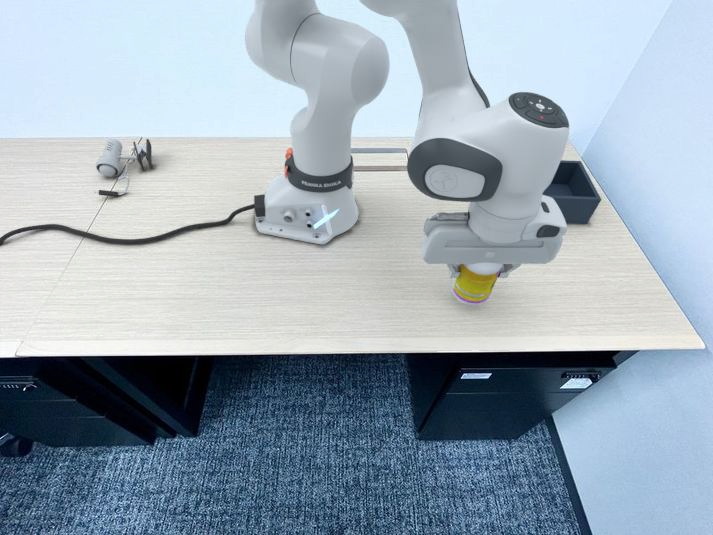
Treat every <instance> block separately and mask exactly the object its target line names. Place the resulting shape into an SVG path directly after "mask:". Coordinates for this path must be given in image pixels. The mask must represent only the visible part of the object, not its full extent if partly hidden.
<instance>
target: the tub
mask: <svg viewBox="0 0 713 535" xmlns="http://www.w3.org/2000/svg"><path fill="white" fill-rule="evenodd" d="M542 195H545V196H549V197H551V198H553V199H554V200H555V202H556V203H557V205H558V207H559V208H560V210H561V212H562V214H563V216H564V219H565V221H566V224H575V225H577V224H578V225H579V224H581V225H587V224H588V223H589V221H591V218H592V216H593V215H594V213H595V212H596V210H597V208H598V207H599V205H600V203H601V201H602V197H601V196H600V194H599V192H598V190H597V189H596V186H595V184H594V183H593V181H592V179H591V177H590V175H589V173H588V172H587V169H586V168H585V166H584V165H583V162H582V161H581V160H566V159H565V160H562V159H561V161H560V164H559V166H558V169H557V171H556V173H555V176H554V178H553V180H552V182H551V184H550V185H549V186H548V187H547V188H546V189H545V190H544V192H543V194H542Z"/></svg>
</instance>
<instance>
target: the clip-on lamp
mask: <svg viewBox="0 0 713 535" xmlns="http://www.w3.org/2000/svg"><path fill="white" fill-rule="evenodd" d="M145 140H146V141H145V143H144V144H143V145H140V144H138V143H137V142H136V141H132V143H133V148H131V151H132V152H133V154H132V155H129V154H128V155H127V154H125V155H124V154H122V151H123V144H122V142H121V141H120V140H118V139H115V138H109V139H108V140H106V142H105V143H104V144H105V145H104V148H103V151H102V154H101V156H99V157H98V158H97V159H96V161H95V169H96V171H97V172H98V173H99V174H101V175H102V176H104V177H106V178H107V177H108V178H110V177H116V176H118V175H119V174H120V173H121V170H122V166H121V163H120V160H131V161H128V162H126V163H125V171H124V172H123V173H122V174H121V175H120V176H118V178H117V181H120V180H122V179H125V178H127V184H126V188H125V190H124V191H123V192H121V193H119V192H118V191H113V190H105V189H99V190H98V191H96V190H95V191H94V194H98V196H102V197H103V196H106V197H115V198H118V197H119V196H122V195H124V194H126V192H127V191H128V189H129V186H130V177H129V175H126V174H127V173H128V170H129V167H128V165H132V164H133V163H135V161H136V160H137V162H138V164H139V166H140V168H141V170H142V171H143V172H144V171H146V170H145V166H144V164H143V161H144V159H145V160H146V162H147V163H148V165H149V168H150V169H151V170H153V169H154V165H153V162H152V160H153V158H152V157H153V156H152V155H153V154H152V152H153V150H152V144H151V141H150V138H146V139H145Z"/></svg>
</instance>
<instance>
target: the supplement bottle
mask: <svg viewBox="0 0 713 535" xmlns="http://www.w3.org/2000/svg"><path fill="white" fill-rule="evenodd" d="M494 256H495V252H487V253H486V255H485V257H487V258H493V257H494ZM502 265H503V264H497V263H489V262H487V263H476V264H459V268H460V270H461V274H460V275H459V276H460V277H459V278H453V281H452V284H451V292H452V294H453V296H454V297H455V298H456V300H457V301H459V302H461V303H462V304H464V305H466V306H473V307H474V306H480V305H483V304H484V303H486V302H487V301H488V300H489V298H490V296H491V294H492V292H493V289H494V287H495V284H496V283H497V280H498V275H499V272H500V270H501V268H502Z"/></svg>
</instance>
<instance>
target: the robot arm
mask: <svg viewBox="0 0 713 535" xmlns="http://www.w3.org/2000/svg"><path fill="white" fill-rule="evenodd" d="M358 1H359V3H360V4H362V5H363V6H365V7H366V8H367V9H368V10H370V11H371V12H374V13H375V14H378V15H380V16H383V17H388V18H393V19H395V20H396V21H397V22H398V23H399V24H400V26H401V27H402V28H403V30H404V32H405V35H406V37H407V39H408V43H409V47H410V49H411V52H412V56H413V60H414V64H415V66H416V67H415V68H416V70H417V73H418V77H419V80H420V84H421V87H422V88H421V89H422V98H421V103H420V107H419V113H418V121H417V125H416V128H415V132H414V136H413V139H412V142H411V146H410V150H409V155H408V158H407V162H406V172H407V176H408V178H409V180H410V182H411V183H412V185H413V186H414V187H415V189H417V190H418V191H419V192H420V193H421V194H423V195H425V196H426V197H429V198H431V199H434V200H439V201H446V202H458V203H459V202H460V203H469V205H468V209H467V211H460V212H459V211H457V212H456V211H455V212H445V211H444V212H443V211H441V212H437V213H436V214H434V215H431V216H429V217H427V218H426V219H425V221H424V225H423V237H422V240H421V244H420V251H421V252H420V253H421V257H422V260H423V261H424V262H425V263H426V264H428V265H447V268H448V275H449V279H454V278H459V277H460V276H459V275H460V274H461V270H460V268H459V264H476V263H487V262H489V263H497V264H503V265H502V268H501V270H500V272H499V275H498V277H497V279H507V278H508V277H509V275H510V273H512V272H514V271H515V270H517V269H518V268H520V267H521V265H547V264H549V263H550V262H552V261H554V260H555V259H556V257H557V255H558V253H559V251H560V249H561V247H562V245H563V242H564V238H563V236H564V235H565V234H566V233H567V231H568V225H567V224H568V223H566V221H565V219H564V216H563V214H562V212H561V210H560V208H559V207H558V205H557V203H556V202H555V200H554V199H553V198H551V197H549V196H545V195H542V194H543V192H544V190H545V189H546V188H547V187H548V186H549V185H550V184H551V182H552V180H553V178H554V176H555V173H556V171H557V169H558V166H559V164H560V161H561V160H562V158H563V156H564V153H565V150H566V148H567V145H568V141H569V136H570V130H571V129H570V128H571V127H570V122H569V120H568V117H567V114H566V112H565V110H563V108H562V107H561V106H560V105H559V104H558V103H556V102H555V101H554V100H552V99H550V98H549V97H547V96H544V95H541V94H538V93H535V92H531V91H530V92H529V91H519V92H514V93H512V94H510V95H508V97H506V98H505V99H503V100H502V101H500V102H498V103H496V104H494V105H491V103H490V100H489V98H488V96H487V95H486V93H485V91H484V89H483V88H482V87H481V86H480V84H479V83H478V81H477V80H476V79H475V77H474V75H473V73H472V71H471V69H470V66H469V65H470V64H469V61H468V56H467V51H466V45H465V41H464V35H463V30H462V25H461V19H460V14H459V7H458V0H358ZM253 10H254V11H252V14H251V15H250V17H249V18H248V20H247V23H246V27H245V33H244V43H245V49H246V52H247V55H248V57H249V59H250V60H251V62H252V63H253V64H254V65H255V66H257V67H258V68H259V69H261V70H262V71H263V72H265V73H266V74H267V75H269V76H270V77H272V78H274V79H275V80H278V81H281V82H283V83H286V84H287V85H291V86H293V87H296V88H299V89H301V90H304V92H305V95H306V98H307V106H304V107H303V108H301V109H300V110H298V111H297V113H296V114H295V115H294V116H293V118H292V119H291V121H290V123H289V124H290V125H289V134H290V141H291V147H288V148H287V149H286V152H285V162H284V171H283V172H281V173H280V174H278V175H276V176H274V177H273V178H272V179H271V180H270V182H269V183H268V185H267V188H266V190H265V193H264V194H256V195H255V194H254V196H253V203H252V204H249V205H245V206H243V207H240V208H237V209H236V210H233V211H232V212H231V213H230V214H229V216H228V217H227V218H225V219H222V220H219V221H215V222H205V223H194V224H189V225H186V226H182V227H179V228H176V229H174V230H171V231H168V232H165V233H162V234H159V235H155V236H151V237H144V238H143V237H142V238H130V239H128V238H127V239H126V238H113V237H106V236H101V235H98V234H94V233H91V232H87V231H83V230H79V229H75V228H72V227H69V226H67V225H63V224H57V223H48V224H47V223H46V224H38V225H30V226H24V227H20V228H17V229H13V230H11V231H8V232H7V233H5V234H3V235H2V236H0V246H2V244H3V243H4V242H5V241H6V240H8V239H9V238H11V237H13V236H16V235H17V234H22V233H26V232H31V231H38V230H46V229H56V230H57V229H58V230H62V231H66V232H68V233H71V234H75V235H78V236H81V237H86V238H89V239H93V240H96V241H100V242H105V243H109V244H110V243H111V244H122V245H123V244H127V245H135V244H146V243H151V242H156V241H161V240H164V239H167V238H169V237H172V236H174V235H175V236H176V235H178V234H181V233H183V232H187V231H191V230H194V229H202V228H204V229H205V228H214V227H220V226H224V225H226V224H228V223H230V222H232V221H233V220H234V218H235V217H236V216H237V215H239V214H241V213H245V212H247V211H250V210H252V209H254V213H255V216H254V218H255V220H254V222H255V227H256V229H257V231H258V233H260V234H263V235H269V236H274V237H280V238H284V239H289V240H295V241H300V242H306V243H311V244H316V245H326V244H328V243H330V241H331V240H333V239H334V238H335V237H336V236H339V235H342V234H343V233H346V232H347V231H349V230H351V229H352V228H353V227H354V226H355V225H356V223H357V221H358V219H359V215H360V211H359V207H358V206H357V203H356V202H357V201H356V198H355V195H354V189H353V188H354V187H353V186H354V185H353V184H354V181H355V180H354V178H355V164H354V158H353V155H352V130H353V124H354V123H353V122H354V121H355V117H356V116H357V113H359V111H360V109H362V108H363V107H365V106H367V105H369V104H370V103H372V102H373V101H374V100H376V99H377V98H378V97H379V96H380V94H381V93H382V92H383V90H384V88H385V86H386V84H387V83H388V82H387V81H388V78H389V75H390V70H391V69H390V67H391V66H390V65H391V64H390V63H391V62H390V60H391V59H390V54H389V50H388V47H387V44H386V43H385V42H386V41H384V40H383V39H382V38H381V37H380V36H378V35H376V34H375V33H373V32H372V31H370V30H369V29H367V28H365V27H362V26H361V25H359V24H358V23H355V22H351V21H347V20H344V19H341V18H336V17H332V16H329V15H326V14H323V13H321V11H320V10H319V8H318V6H317V2H316V0H254V8H253ZM487 252H495V256H494V257H493V258H487V257H485V255H486V253H487Z"/></svg>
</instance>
